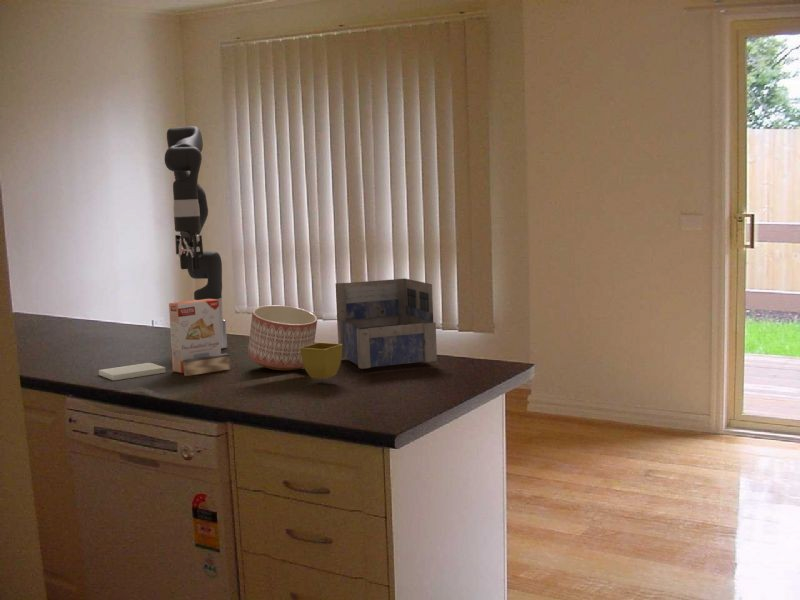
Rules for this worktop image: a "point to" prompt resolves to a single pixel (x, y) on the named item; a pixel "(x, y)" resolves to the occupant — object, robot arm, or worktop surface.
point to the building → (386, 322)
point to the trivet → (131, 371)
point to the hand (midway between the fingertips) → (190, 269)
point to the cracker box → (194, 330)
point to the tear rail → (206, 364)
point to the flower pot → (321, 359)
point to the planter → (280, 336)
